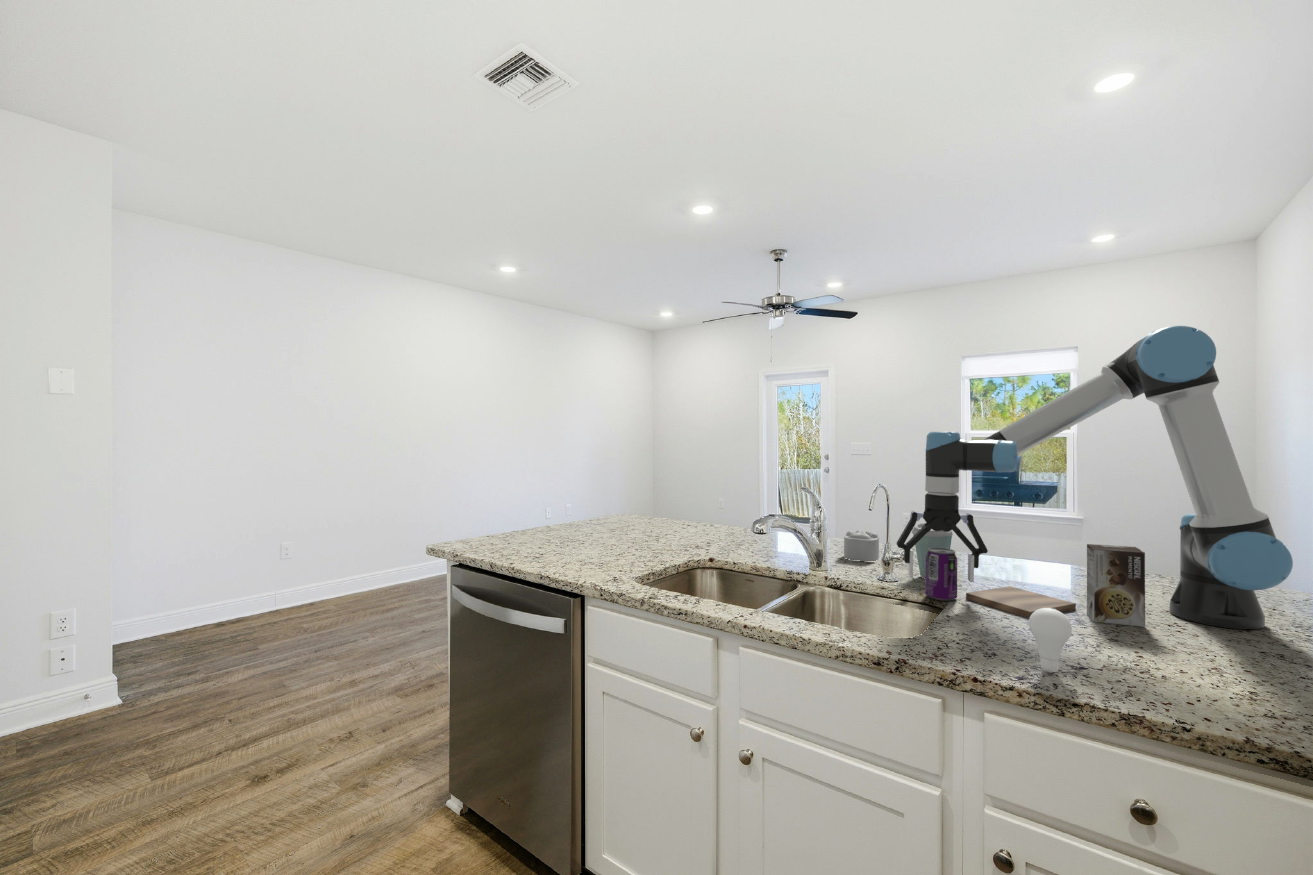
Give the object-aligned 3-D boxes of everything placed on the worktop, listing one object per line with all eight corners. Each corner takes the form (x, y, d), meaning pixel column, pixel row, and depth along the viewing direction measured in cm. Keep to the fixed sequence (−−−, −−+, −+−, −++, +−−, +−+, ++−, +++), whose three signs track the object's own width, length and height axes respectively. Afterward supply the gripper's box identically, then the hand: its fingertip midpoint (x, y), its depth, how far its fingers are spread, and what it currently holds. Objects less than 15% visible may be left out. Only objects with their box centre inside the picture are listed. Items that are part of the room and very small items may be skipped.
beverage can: (961, 603, 138) (961, 553, 138) (929, 601, 139) (929, 552, 139) (952, 594, 145) (952, 547, 145) (922, 593, 146) (922, 546, 146)
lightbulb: (1020, 665, 101) (1020, 603, 101) (1052, 664, 102) (1052, 602, 101) (1046, 680, 95) (1046, 614, 95) (1080, 679, 95) (1081, 613, 95)
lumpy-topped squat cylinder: (841, 559, 184) (841, 533, 184) (849, 552, 196) (849, 527, 195) (875, 563, 179) (875, 536, 179) (881, 555, 190) (881, 530, 190)
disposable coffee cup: (959, 583, 155) (959, 528, 155) (917, 582, 157) (917, 527, 157) (945, 574, 166) (945, 522, 165) (906, 572, 167) (906, 521, 167)
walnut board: (1075, 609, 133) (1075, 603, 133) (1030, 618, 126) (1030, 611, 126) (1009, 591, 147) (1009, 586, 147) (965, 598, 141) (966, 592, 141)
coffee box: (1135, 619, 126) (1136, 546, 126) (1146, 628, 120) (1147, 552, 120) (1085, 613, 130) (1086, 542, 130) (1093, 621, 124) (1093, 548, 124)
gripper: (994, 494, 142) (992, 578, 142) (886, 489, 149) (885, 570, 149) (1002, 497, 134) (1001, 586, 135) (889, 492, 142) (887, 577, 142)
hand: (940, 578), depth 142 cm, fingers open, 13 cm apart
